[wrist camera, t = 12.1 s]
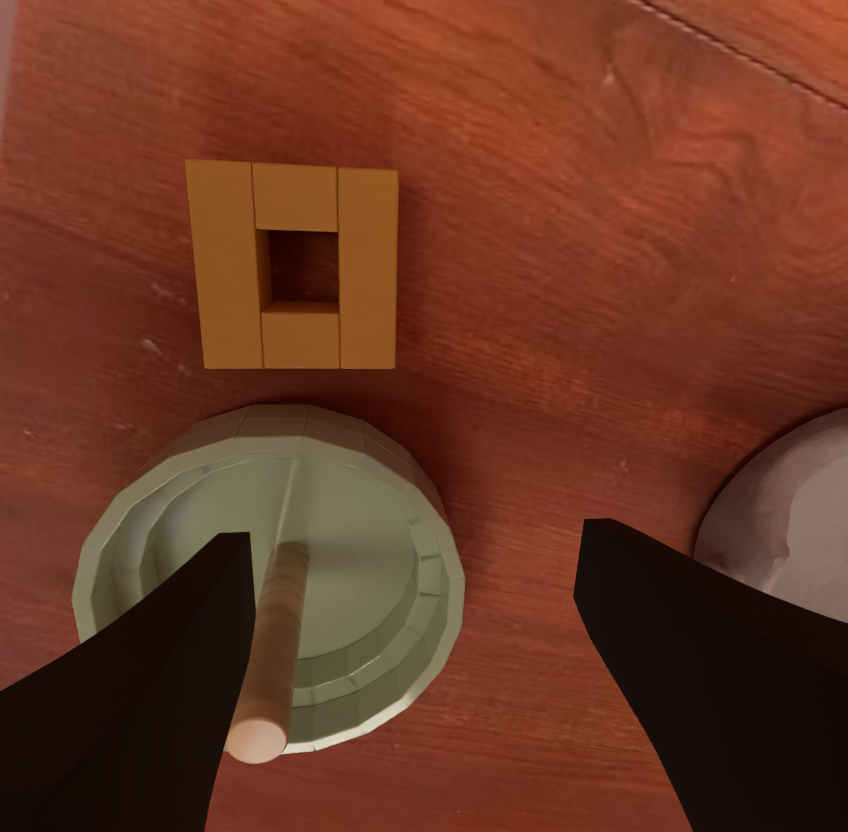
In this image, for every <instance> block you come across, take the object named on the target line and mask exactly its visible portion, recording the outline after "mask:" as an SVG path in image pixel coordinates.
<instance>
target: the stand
mask: <svg viewBox="0 0 848 832" xmlns="http://www.w3.org/2000/svg"><path fill="white" fill-rule="evenodd" d="M185 170H186V181H187V191H188V202H189V212H190V223H191V233H192V244H193V254H194V265H195V275H196V286H197V296H198V306H199V317H200V327H201V338H202V348H203V359H204V367H205V368H206V369H263V368H266V369H338V368H340V367H341V368H342V369H394V368H395V366H396V313H397V260H398V207H399V172H398V170H391V169H372V168H354V167H339V168H338V169H337V168H336V167H334V166H316V165H298V164H279V163H260V162H254V163H251V162H244V161H225V160H206V159H187V158H186V159H185ZM269 230H291V231H318V232H338V257H339V302H312V301H273V302H272V283H271V264H270V245H269Z"/></svg>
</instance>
